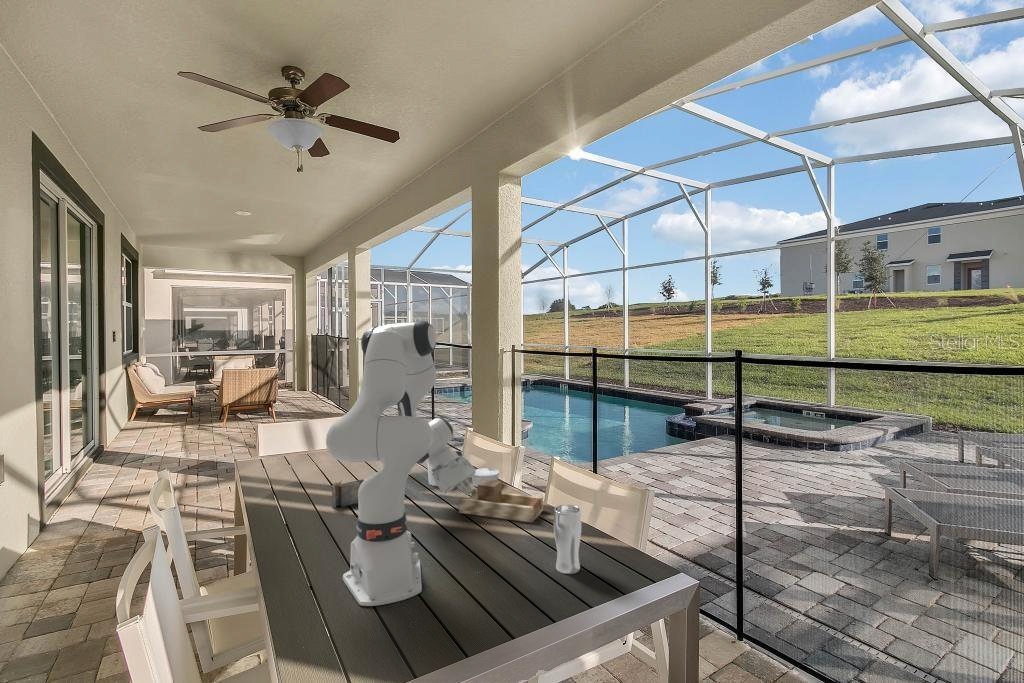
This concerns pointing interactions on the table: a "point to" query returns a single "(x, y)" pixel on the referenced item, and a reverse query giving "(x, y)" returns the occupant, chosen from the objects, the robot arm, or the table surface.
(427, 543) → the table surface
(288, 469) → the table surface
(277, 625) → the table surface
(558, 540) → the beer glass
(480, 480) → the ramekin
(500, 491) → the walnut block
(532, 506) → the pine chute
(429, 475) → the candle holder
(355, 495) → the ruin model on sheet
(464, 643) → the table surface
